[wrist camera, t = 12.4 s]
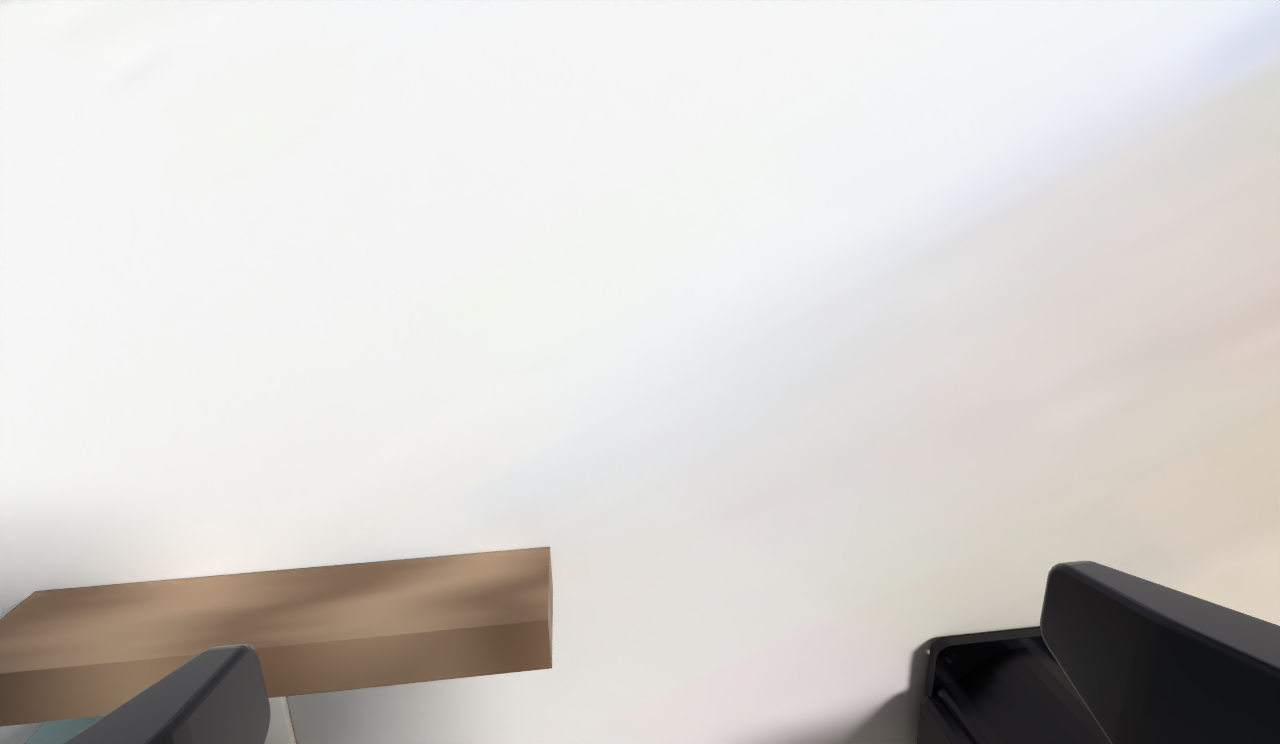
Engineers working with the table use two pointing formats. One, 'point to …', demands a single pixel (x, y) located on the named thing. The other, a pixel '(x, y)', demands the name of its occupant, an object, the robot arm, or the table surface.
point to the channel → (280, 631)
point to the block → (60, 730)
